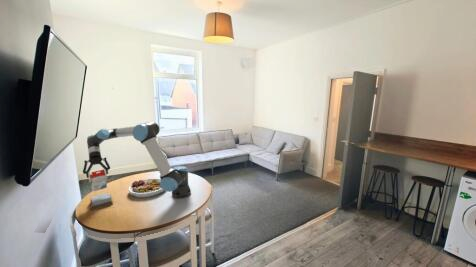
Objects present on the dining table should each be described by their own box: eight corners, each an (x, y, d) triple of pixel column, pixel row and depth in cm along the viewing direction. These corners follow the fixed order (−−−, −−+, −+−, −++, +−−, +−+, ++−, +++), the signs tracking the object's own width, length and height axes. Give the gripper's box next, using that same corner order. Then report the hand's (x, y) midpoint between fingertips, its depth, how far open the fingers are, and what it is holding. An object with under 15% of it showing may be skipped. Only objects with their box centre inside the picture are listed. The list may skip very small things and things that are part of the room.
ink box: (104, 186, 156) (102, 167, 153) (107, 187, 153) (104, 169, 150) (91, 189, 149) (89, 170, 147) (93, 191, 146) (91, 172, 143)
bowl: (173, 184, 188) (172, 176, 186) (156, 200, 158) (156, 190, 157) (142, 182, 191) (141, 174, 189) (121, 198, 161) (120, 189, 160)
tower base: (112, 205, 152) (112, 201, 151) (91, 210, 144) (91, 207, 143) (111, 198, 162) (110, 194, 161) (91, 203, 154) (90, 199, 154)
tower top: (111, 200, 152) (110, 197, 151) (93, 206, 145) (93, 202, 144) (108, 195, 160) (108, 192, 160) (91, 200, 153) (91, 196, 152)
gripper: (111, 153, 166) (115, 178, 156) (77, 158, 153) (79, 185, 143) (111, 148, 160) (115, 173, 151) (76, 153, 147) (78, 181, 138)
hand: (98, 179), depth 147 cm, fingers closed on ink box, 9 cm apart
